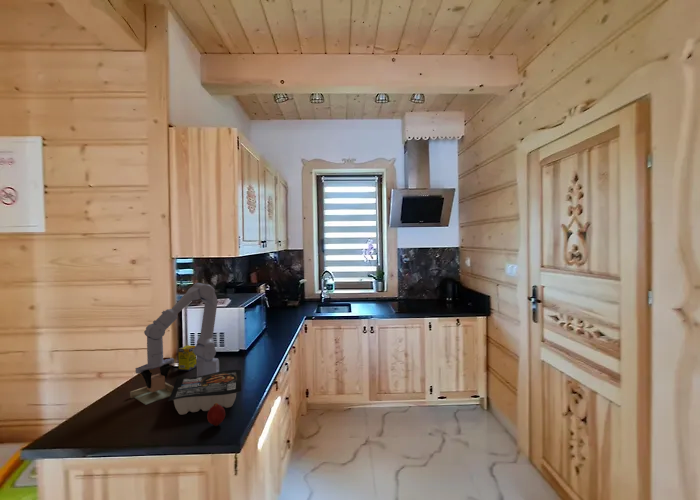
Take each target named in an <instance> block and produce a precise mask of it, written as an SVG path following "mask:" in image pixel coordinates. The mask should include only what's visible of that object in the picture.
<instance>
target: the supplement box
mask: <svg viewBox="0 0 700 500" xmlns="http://www.w3.org/2000/svg"><path fill="white" fill-rule="evenodd" d="M195 346H196V345H187V344H186V345H184V346H182V347H180V348H178V350H177V352H178V354H177V355H178V371H179V372H180V371H182V372H191V371H192V370H194V369H197V360H196V359H197V356H196V355H195V354H194V348H195Z"/></svg>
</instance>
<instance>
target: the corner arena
mask: <svg viewBox="0 0 700 500" xmlns="http://www.w3.org/2000/svg"><path fill="white" fill-rule="evenodd" d="M173 388H174V385H173V384H170V383H168V382H166V381H165V388H164V389H161V390H158V391H155V392H151V391H149V390H147V385H146V386H143V387H140V388H138V389H134V390H131V391H129V399H135V400H137V401H138V402H141V403H142V404H143V405H144V406H146V405H149V404H152V403H155V402H157V401H161V400H163V399H166V398H170V396H171V393H172V390H173Z"/></svg>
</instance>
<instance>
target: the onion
mask: <svg viewBox="0 0 700 500" xmlns="http://www.w3.org/2000/svg"><path fill="white" fill-rule="evenodd" d="M225 417H226V410H225V407H224V406H223V407H222V406H221V405H219V404H217V403H215V404H214V406H212V407H211V408H210V410H208V411H207V415H206V418H207V422H208V423H210V424H211V425H213V426H215V427H218V426H219V425H221V423H222V422H224V420H225Z"/></svg>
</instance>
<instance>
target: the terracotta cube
mask: <svg viewBox="0 0 700 500" xmlns="http://www.w3.org/2000/svg"><path fill="white" fill-rule="evenodd" d="M165 382H166V380H165V376H163V375H161V373H157V374H152V375H151V388H147V390H149V391H151V392H155V391H158V390H161V389H164V388H165Z"/></svg>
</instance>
